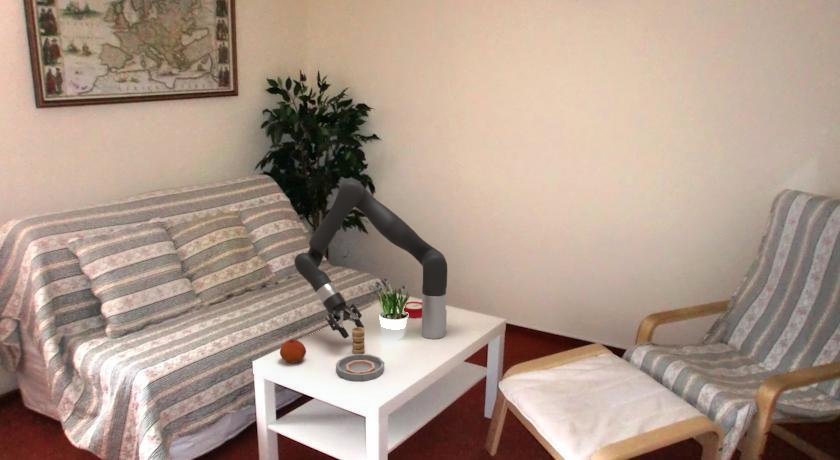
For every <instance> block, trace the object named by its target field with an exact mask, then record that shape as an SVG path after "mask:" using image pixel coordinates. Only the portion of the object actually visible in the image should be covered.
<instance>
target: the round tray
mask: <svg viewBox="0 0 840 460" xmlns="http://www.w3.org/2000/svg"><path fill="white" fill-rule="evenodd" d="M384 368H385V361H384V360H383V359H382V358H380V357H378V356H376V355H372V354H368V353H367V354H366V353H364V354H351V355H346V356H344V357H342V358H340V359H339V360H338V361H337V363H336V365H335V370H336V374H337V375H338V376H339V378H342V379H344V380H346V381H352V382H366V381H370V380H374V379H377V378H378V377H380V376H381V375H382V374H383V373H384V371H385V370H384Z"/></svg>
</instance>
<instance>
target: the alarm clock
mask: <svg viewBox="0 0 840 460" xmlns="http://www.w3.org/2000/svg"><path fill="white" fill-rule="evenodd" d="M405 303H406V305H405V308H404V311H405V312H408V313H409V317H410V318H409V319H420V318H422V301H421V302H420V301H410V302H405Z"/></svg>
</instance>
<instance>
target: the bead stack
mask: <svg viewBox="0 0 840 460" xmlns="http://www.w3.org/2000/svg"><path fill="white" fill-rule="evenodd" d="M351 330H352V331H351V333H352V335H351V336H352V337H351V340H352V341H351V342H352V347H351V348H352V355H355V354H366V353H365V351H366V350H365V346H366V345H365V342H366V341H365V327H364V328H362V327H357V326H356V327H353V328H352V329H351Z"/></svg>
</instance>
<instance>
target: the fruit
mask: <svg viewBox="0 0 840 460" xmlns="http://www.w3.org/2000/svg"><path fill="white" fill-rule="evenodd" d="M306 353H307V350H306V347H305V345H304V343H303V342H301V341H299V340H297V339H294V338H290V339H288V340H287V341H285V342H284V343H283V344H282V345H281V346H280V350H279V354H280V356H281V359H282V360H283V361H285V362H286V363H290V364H292V363H297V362H300V361H301V360H303V359H304V358H305V356H306Z"/></svg>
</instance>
